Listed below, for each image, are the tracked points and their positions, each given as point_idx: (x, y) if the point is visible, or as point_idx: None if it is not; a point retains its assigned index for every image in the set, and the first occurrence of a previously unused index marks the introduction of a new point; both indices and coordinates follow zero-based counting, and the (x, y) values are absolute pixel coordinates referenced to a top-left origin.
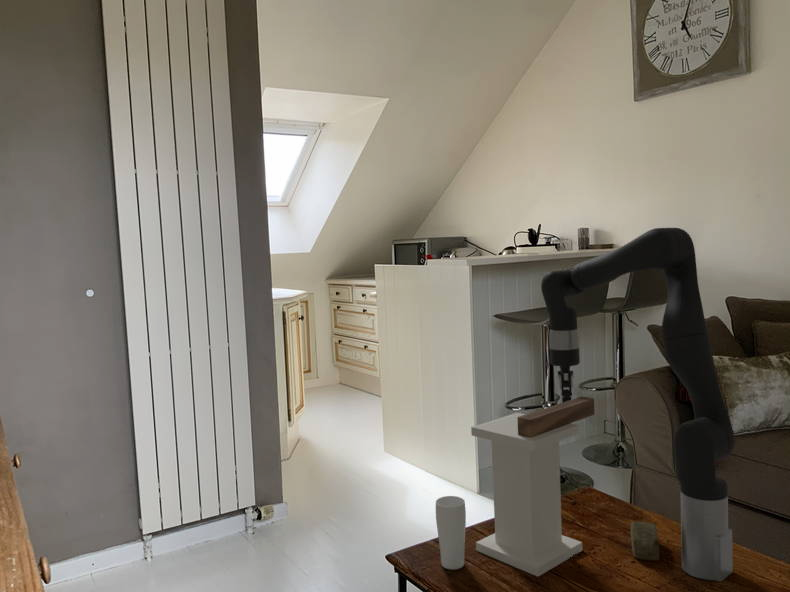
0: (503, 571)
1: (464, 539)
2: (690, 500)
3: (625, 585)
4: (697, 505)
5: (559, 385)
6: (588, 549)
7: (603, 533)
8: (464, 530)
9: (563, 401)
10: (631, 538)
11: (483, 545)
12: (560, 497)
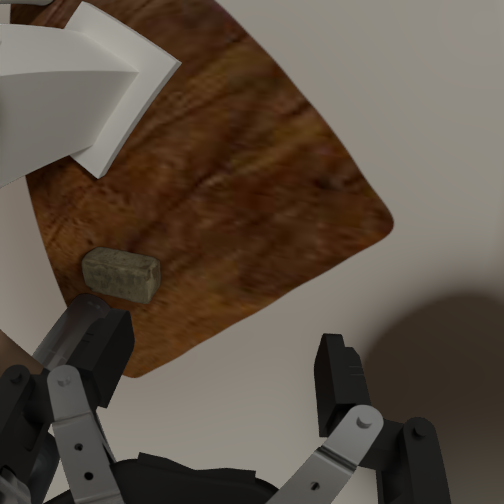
0: None
1: (17, 3)
2: None
3: (36, 220)
4: None
5: (54, 433)
6: (110, 184)
7: (173, 217)
8: (4, 3)
9: (88, 350)
10: (136, 257)
11: (72, 16)
12: (41, 166)
